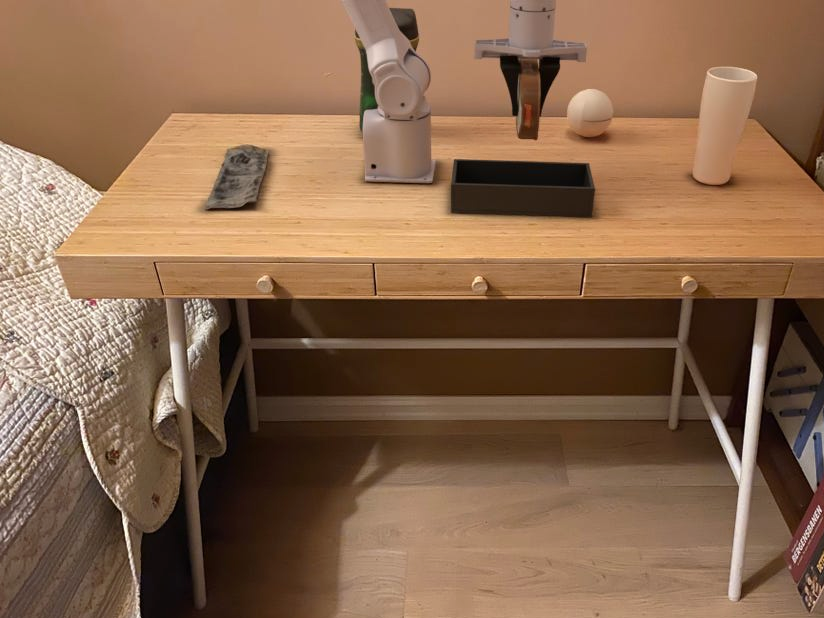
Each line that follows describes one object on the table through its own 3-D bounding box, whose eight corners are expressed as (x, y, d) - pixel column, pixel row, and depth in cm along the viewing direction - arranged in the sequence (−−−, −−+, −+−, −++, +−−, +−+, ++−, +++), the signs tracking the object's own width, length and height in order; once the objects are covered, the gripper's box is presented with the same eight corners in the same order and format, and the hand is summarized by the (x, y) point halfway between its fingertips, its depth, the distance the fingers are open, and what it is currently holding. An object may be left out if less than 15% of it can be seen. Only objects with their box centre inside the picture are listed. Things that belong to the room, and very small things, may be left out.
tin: (537, 149, 103) (546, 84, 98) (513, 147, 103) (521, 82, 98) (532, 111, 115) (540, 51, 110) (510, 109, 115) (517, 48, 110)
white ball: (568, 144, 124) (572, 97, 120) (562, 127, 130) (566, 82, 126) (631, 144, 125) (637, 98, 121) (622, 128, 131) (628, 83, 127)
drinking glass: (738, 175, 116) (762, 70, 107) (729, 192, 111) (754, 84, 102) (692, 166, 118) (712, 63, 110) (681, 182, 113) (701, 76, 105)
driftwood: (228, 150, 119) (226, 137, 118) (274, 150, 120) (273, 136, 118) (204, 213, 103) (201, 198, 101) (257, 212, 103) (255, 197, 102)
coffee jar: (358, 140, 123) (350, 14, 112) (362, 123, 130) (354, 1, 119) (420, 141, 124) (418, 15, 113) (421, 123, 130) (418, 2, 119)
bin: (450, 213, 104) (450, 184, 101) (453, 186, 111) (453, 158, 108) (591, 217, 104) (595, 188, 101) (586, 190, 111) (589, 162, 108)
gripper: (474, 12, 96) (472, 122, 104) (593, 16, 97) (582, 125, 105) (475, -1, 102) (473, 104, 110) (587, 3, 102) (577, 107, 110)
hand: (526, 113), depth 108 cm, fingers closed on tin, 2 cm apart
